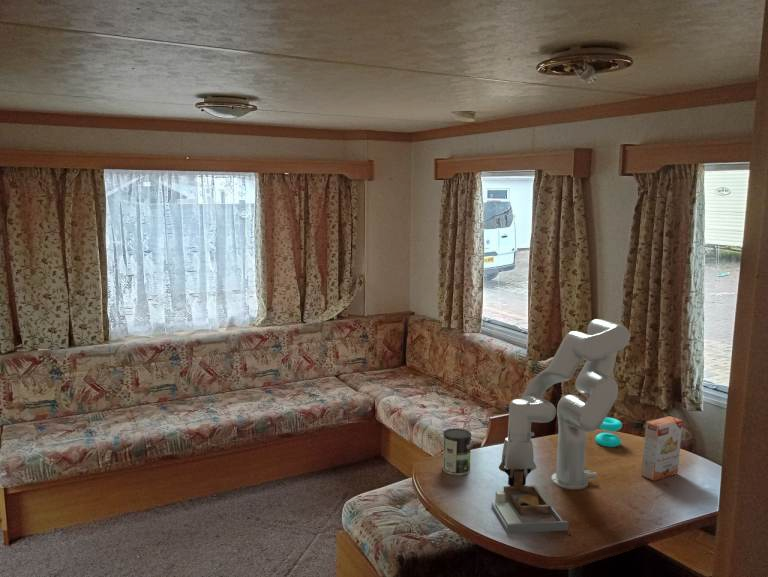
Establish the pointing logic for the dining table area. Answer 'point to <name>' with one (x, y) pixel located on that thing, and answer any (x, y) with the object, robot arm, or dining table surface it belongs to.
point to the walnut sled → (529, 489)
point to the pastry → (528, 500)
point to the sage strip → (505, 509)
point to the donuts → (609, 438)
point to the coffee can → (456, 451)
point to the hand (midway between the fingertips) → (516, 486)
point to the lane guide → (534, 526)
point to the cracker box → (661, 447)
